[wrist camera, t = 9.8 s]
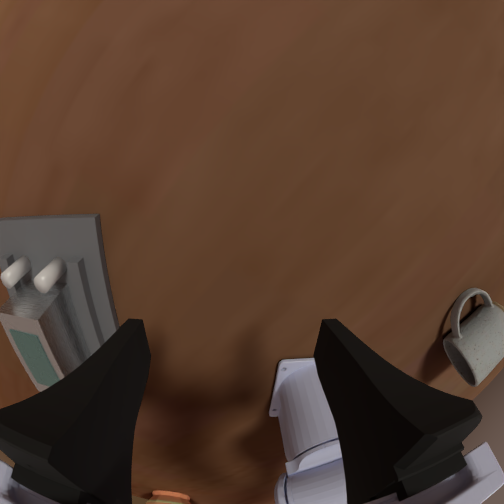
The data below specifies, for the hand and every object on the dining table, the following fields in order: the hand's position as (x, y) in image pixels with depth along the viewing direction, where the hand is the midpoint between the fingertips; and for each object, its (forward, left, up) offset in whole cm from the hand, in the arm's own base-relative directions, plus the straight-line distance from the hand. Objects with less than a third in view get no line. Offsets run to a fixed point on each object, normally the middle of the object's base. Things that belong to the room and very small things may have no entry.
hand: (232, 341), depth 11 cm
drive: (-8, +15, -9) cm, 19 cm away
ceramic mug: (-9, -28, -10) cm, 31 cm away
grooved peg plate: (-8, +15, -9) cm, 20 cm away
